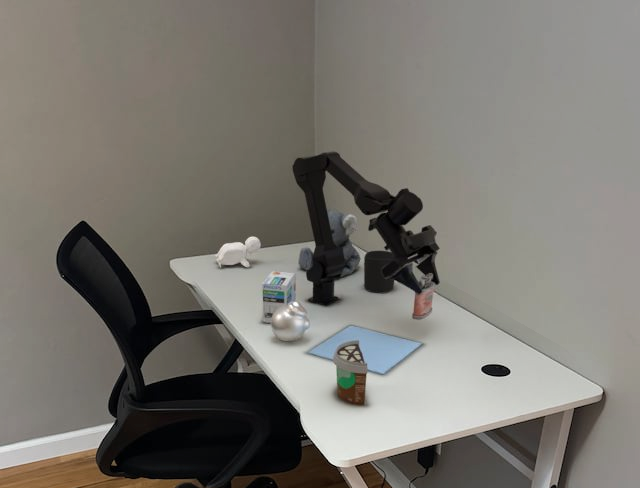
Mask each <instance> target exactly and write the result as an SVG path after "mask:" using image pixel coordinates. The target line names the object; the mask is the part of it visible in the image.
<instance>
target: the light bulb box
mask: <svg viewBox="0 0 640 488" xmlns="http://www.w3.org/2000/svg"><path fill="white" fill-rule="evenodd" d="M261 286H262V318H263V319H262V322H263V323H266V324H267V323H268V324H271V318H272V315H273V313H274V312H275V311H276V310H277V309H278V308H280V307H282V306H285V305H288V303H289V302H291V301H297V274H296V272H285V271H284V272H283V271H276V270H275V271H271V272H270V273H269V275H268V276H267V278H266V279H265V280H263V282H262V284H261Z"/></svg>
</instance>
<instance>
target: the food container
mask: <svg viewBox="0 0 640 488" xmlns="http://www.w3.org/2000/svg"><path fill="white" fill-rule="evenodd" d="M332 361H333V365H335V369H336V371H335V372H336V388H337V389H336V391H337V393H336V394H337V397H338V398H339V399H340V400H341V401H343V402H345V403H348V404H351V405H357V406H365V402H366V387H367V374H368V370H367V363H365V362H364V358H363V355H362V352H361V350H360V347H359V340H354V341H348V342H345V343H342V344H340V345H339V346H338V347H337V348H336V350H335V353H334V357H333V360H332Z"/></svg>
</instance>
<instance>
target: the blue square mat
mask: <svg viewBox="0 0 640 488" xmlns="http://www.w3.org/2000/svg"><path fill="white" fill-rule="evenodd" d="M354 340H359V347H360V350H361V352H362V355H363V358H364V362H365V363H367V372H368V371H369V372H372V373H375V374H379V375H384V374H386V373H387V372H388V371H389V370H391V369H392V368H393V367H395V366H396V365H397V364H398V363H400V362H401V361H402V360H404V359H405V358H406V357H408V356H409V355H410V354H411V353H413V352H414V351H415V350H416V349H418V348H419V347H421V345H422V342H418V341H414V340H409V339H407V338H402V337H398V336H394V335H390V334H386V333H382V332H378V331H375V330H372V329H371V330H370V329H367V328H362V327H359V326H355V325H349V326H348V327H346V328H344V329H343V330H341V331H340V332H338V333H337V334H335V335H333V336H332V337H330V338H328V339H326V340H325V341H324V342H321V344H319V345H316V347H314V348H312V349H311V350H310V351H308V354H309V355H314V356H317V357H320V358H323V359H327V360H330V361H333V357H334V353H335V350H336V348H337V347H338V346H339V345H340V344H342V343H345V342H348V341H354Z"/></svg>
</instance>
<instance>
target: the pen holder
mask: <svg viewBox="0 0 640 488" xmlns="http://www.w3.org/2000/svg"><path fill="white" fill-rule="evenodd" d="M392 258H394V255H393V254H392V252H391V251H389V250H387V251H386V250H371V251H368V252H366V253H365V255H364V261H363V278H364V279H363V285H364V286H363V287H364V289H365V290H367V291H369V292H372V293H379V294H381V293H382V294H383V293H389V292H391V291H393V289H394V288H395V287H394V286H395V280H391V279H390V278H391V277H392V276H394V275H392V276H391V277H389V278H387V279H385V278H384V276H383V275H382V273H381V267H383V266H384V265H385V264H386V263H388V262H389V261H390V260H391V259H392Z"/></svg>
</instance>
